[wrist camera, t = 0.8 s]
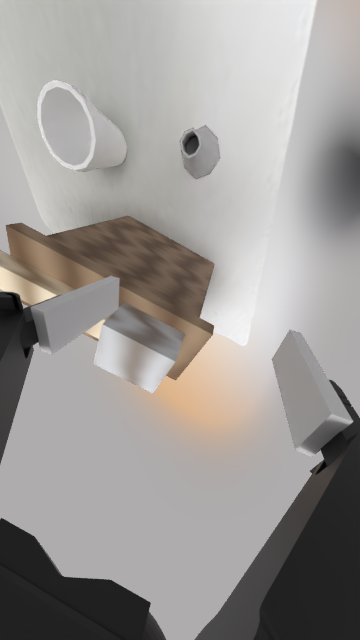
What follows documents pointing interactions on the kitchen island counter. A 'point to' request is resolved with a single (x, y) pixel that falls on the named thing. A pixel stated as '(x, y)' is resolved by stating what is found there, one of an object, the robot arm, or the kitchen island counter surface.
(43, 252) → the walnut stand
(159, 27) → the kitchen island counter surface
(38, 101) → the foam cup
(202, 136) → the flask
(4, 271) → the mallet
